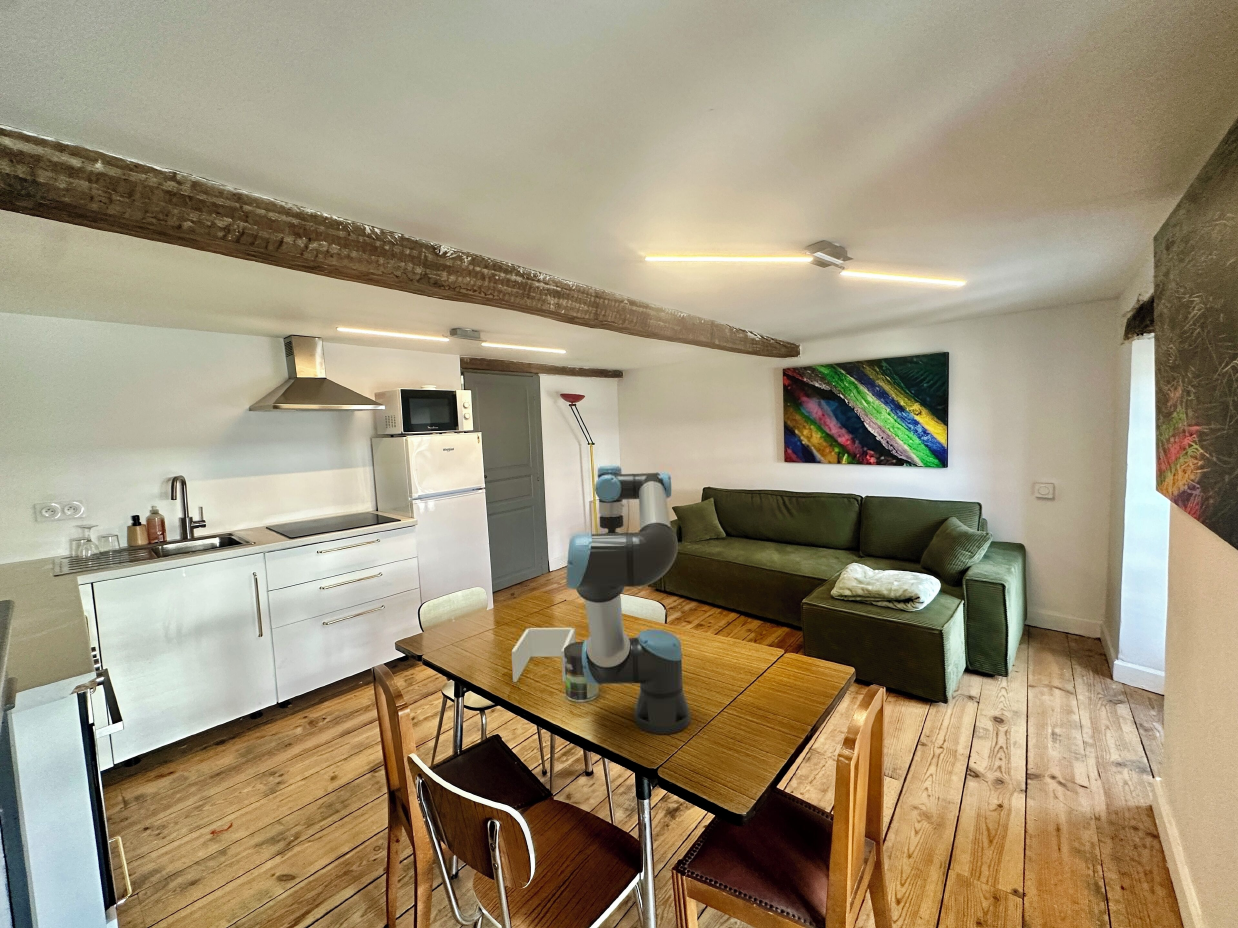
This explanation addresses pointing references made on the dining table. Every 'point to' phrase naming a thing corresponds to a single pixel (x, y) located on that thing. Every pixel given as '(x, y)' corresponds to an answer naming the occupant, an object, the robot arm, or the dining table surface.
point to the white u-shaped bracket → (541, 647)
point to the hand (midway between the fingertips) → (613, 581)
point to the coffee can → (577, 675)
